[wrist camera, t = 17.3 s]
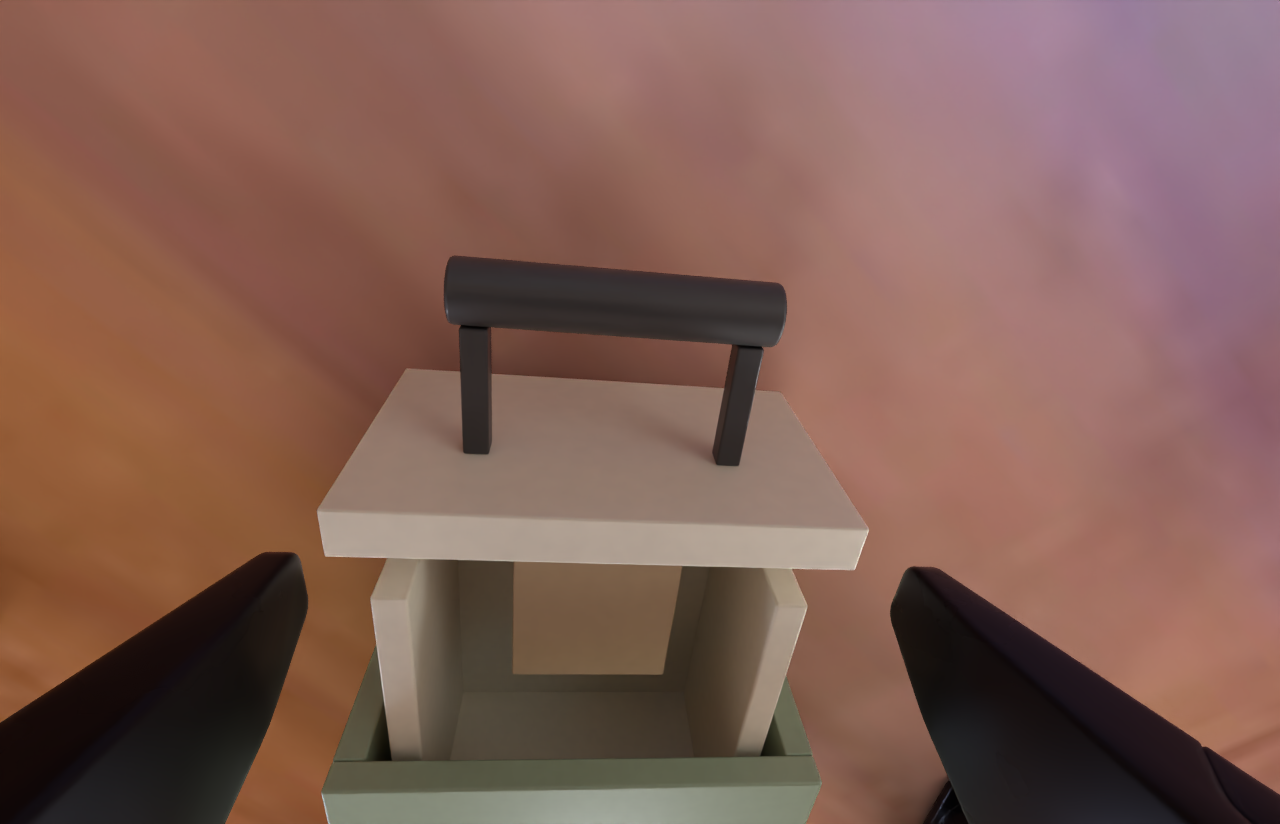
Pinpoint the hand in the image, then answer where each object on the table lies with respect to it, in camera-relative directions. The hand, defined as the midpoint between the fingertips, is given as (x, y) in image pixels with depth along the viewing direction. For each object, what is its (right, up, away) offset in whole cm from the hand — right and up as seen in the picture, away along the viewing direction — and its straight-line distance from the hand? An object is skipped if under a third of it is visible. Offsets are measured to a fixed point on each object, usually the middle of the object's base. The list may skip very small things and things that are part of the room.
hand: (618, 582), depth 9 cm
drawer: (-1, -1, +12) cm, 12 cm away
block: (-1, -1, +11) cm, 11 cm away
